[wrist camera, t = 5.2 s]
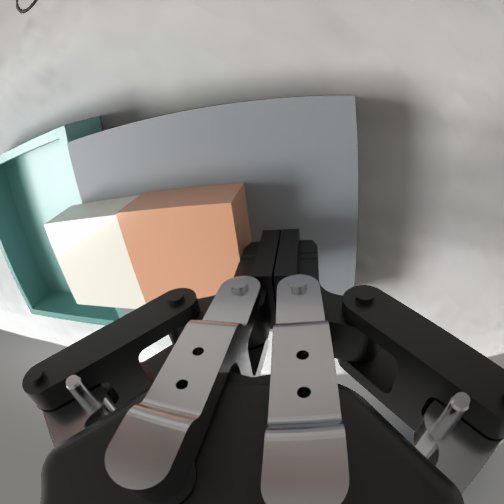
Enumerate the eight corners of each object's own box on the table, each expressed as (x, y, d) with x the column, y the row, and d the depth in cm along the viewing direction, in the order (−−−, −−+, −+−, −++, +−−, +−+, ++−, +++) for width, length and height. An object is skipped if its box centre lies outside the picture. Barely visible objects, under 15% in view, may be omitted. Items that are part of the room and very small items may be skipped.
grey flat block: (342, 95, 14) (354, 95, 10) (344, 288, 19) (349, 330, 16) (107, 129, 16) (66, 142, 13) (150, 288, 22) (127, 322, 19)
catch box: (99, 116, 16) (64, 125, 13) (150, 298, 23) (130, 328, 20) (4, 156, 18) (-25, 169, 15) (52, 292, 25) (32, 313, 22)
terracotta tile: (243, 182, 13) (231, 202, 11) (256, 279, 15) (248, 312, 13) (142, 193, 14) (115, 213, 12) (166, 279, 16) (147, 308, 14)
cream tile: (143, 194, 14) (116, 215, 12) (166, 281, 16) (148, 309, 14) (71, 205, 15) (43, 224, 13) (98, 279, 17) (77, 303, 15)
